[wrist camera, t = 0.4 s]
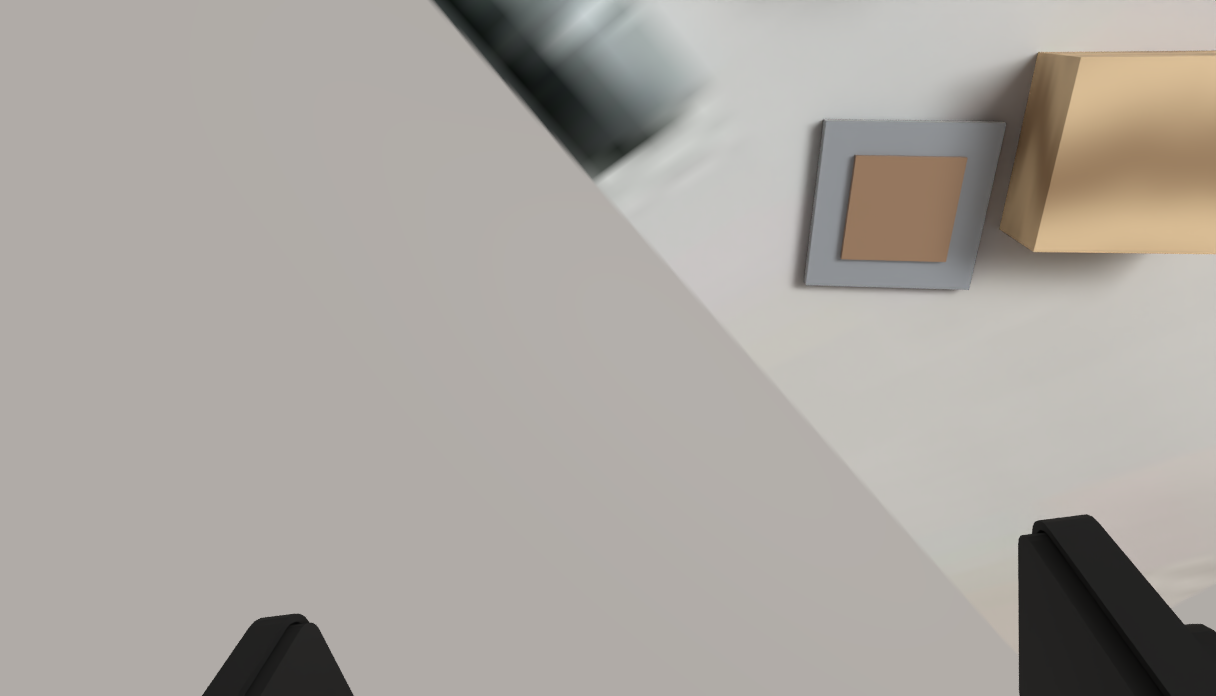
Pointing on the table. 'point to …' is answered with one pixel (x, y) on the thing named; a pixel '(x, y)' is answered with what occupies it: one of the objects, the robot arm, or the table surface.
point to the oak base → (1117, 154)
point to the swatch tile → (901, 202)
